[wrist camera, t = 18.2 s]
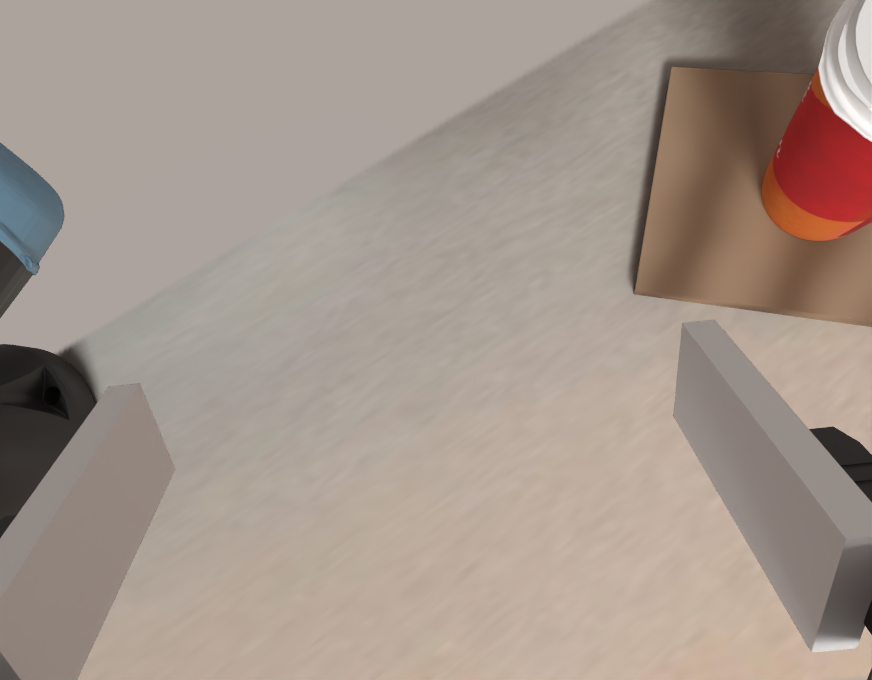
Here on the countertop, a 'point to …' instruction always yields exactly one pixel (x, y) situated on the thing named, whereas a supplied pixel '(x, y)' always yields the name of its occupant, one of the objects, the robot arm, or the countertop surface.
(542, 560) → the countertop surface
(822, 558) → the robot arm
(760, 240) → the walnut board
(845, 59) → the coffee cup
